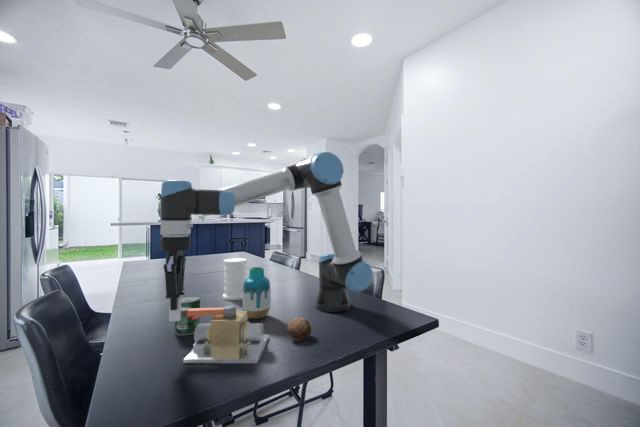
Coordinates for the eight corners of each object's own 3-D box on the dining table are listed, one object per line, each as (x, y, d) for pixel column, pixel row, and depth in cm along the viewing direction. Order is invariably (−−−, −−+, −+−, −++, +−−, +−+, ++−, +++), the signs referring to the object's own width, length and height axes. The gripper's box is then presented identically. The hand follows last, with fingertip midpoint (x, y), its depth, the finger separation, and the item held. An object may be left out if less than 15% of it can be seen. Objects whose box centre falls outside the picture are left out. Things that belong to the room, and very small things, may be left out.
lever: (237, 313, 82) (237, 305, 82) (234, 317, 79) (234, 309, 79) (179, 315, 81) (179, 307, 81) (174, 319, 77) (174, 311, 77)
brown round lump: (287, 321, 93) (293, 310, 90) (308, 329, 94) (315, 318, 91) (281, 342, 86) (287, 330, 83) (304, 350, 87) (311, 339, 84)
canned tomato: (175, 328, 96) (176, 296, 96) (200, 324, 99) (200, 294, 99) (173, 337, 88) (173, 303, 88) (200, 333, 91) (200, 300, 92)
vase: (264, 324, 99) (264, 271, 99) (237, 321, 101) (237, 270, 101) (274, 313, 110) (274, 266, 110) (250, 311, 112) (250, 265, 112)
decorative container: (229, 292, 139) (229, 257, 139) (251, 293, 137) (251, 258, 138) (218, 299, 128) (218, 261, 128) (241, 300, 126) (241, 262, 126)
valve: (268, 338, 88) (268, 307, 88) (257, 363, 73) (257, 326, 73) (206, 337, 88) (206, 307, 88) (183, 363, 73) (183, 325, 73)
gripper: (184, 237, 71) (183, 328, 70) (195, 234, 83) (194, 311, 83) (152, 237, 69) (151, 331, 69) (168, 234, 81) (167, 313, 81)
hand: (175, 320), depth 76 cm, fingers closed
